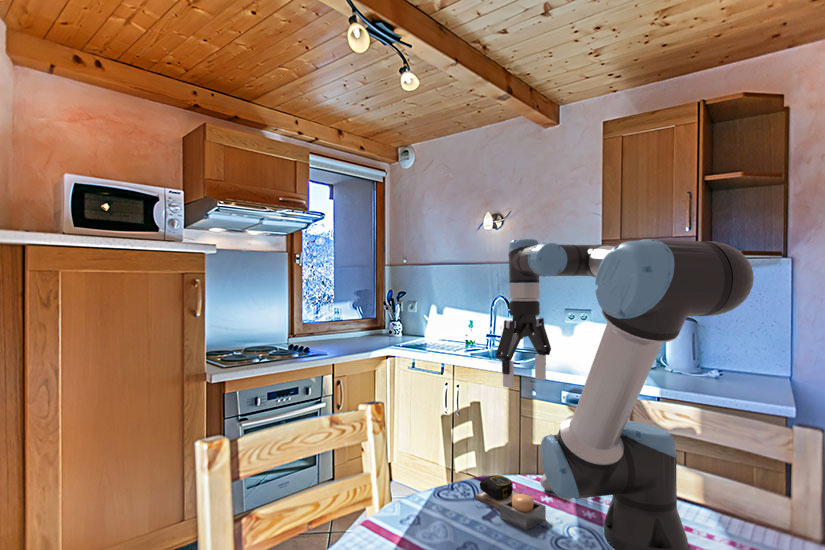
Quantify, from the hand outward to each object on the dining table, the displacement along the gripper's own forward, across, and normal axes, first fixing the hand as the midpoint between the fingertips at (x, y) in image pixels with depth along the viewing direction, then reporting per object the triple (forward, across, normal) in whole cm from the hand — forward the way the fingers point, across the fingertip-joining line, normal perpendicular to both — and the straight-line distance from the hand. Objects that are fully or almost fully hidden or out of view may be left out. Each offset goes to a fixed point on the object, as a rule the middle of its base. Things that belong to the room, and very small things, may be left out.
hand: (525, 383), depth 118 cm
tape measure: (+26, +11, -1) cm, 28 cm away
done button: (+25, +13, +8) cm, 30 cm away
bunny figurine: (+27, -4, +5) cm, 28 cm away
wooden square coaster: (+27, +9, 0) cm, 28 cm away
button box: (+27, +13, +8) cm, 31 cm away
